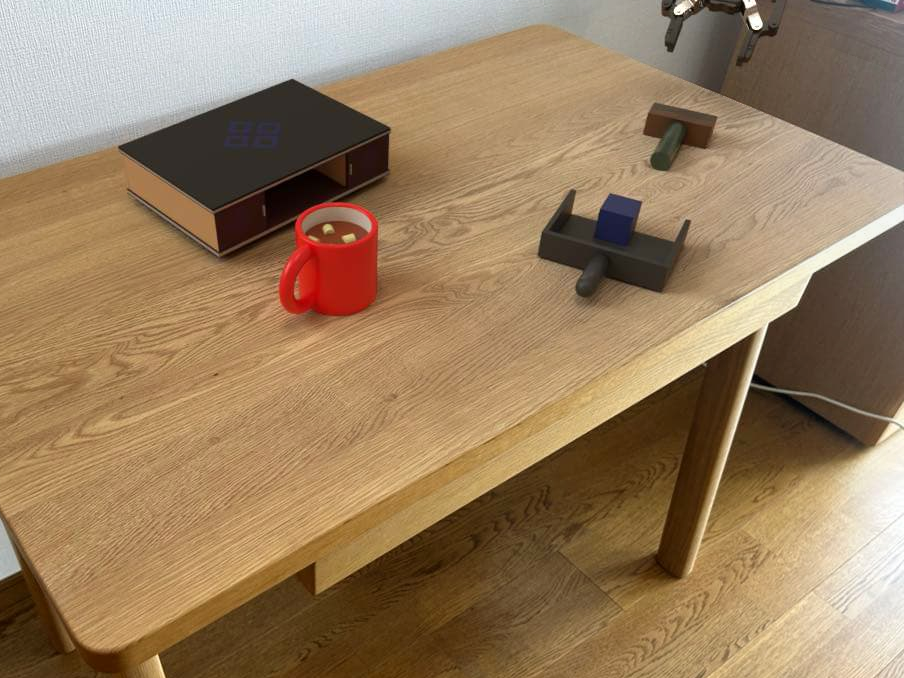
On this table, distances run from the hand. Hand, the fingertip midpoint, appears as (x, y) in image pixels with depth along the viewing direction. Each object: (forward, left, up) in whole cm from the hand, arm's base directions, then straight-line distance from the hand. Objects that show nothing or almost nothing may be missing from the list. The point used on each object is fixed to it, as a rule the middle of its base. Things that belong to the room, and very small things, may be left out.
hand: (704, 56), depth 108 cm
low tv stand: (+45, +35, -9) cm, 58 cm away
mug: (+30, +52, -9) cm, 61 cm away
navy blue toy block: (+5, +28, -6) cm, 29 cm away
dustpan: (+5, +36, -8) cm, 38 cm away
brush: (+1, +3, -7) cm, 8 cm away
